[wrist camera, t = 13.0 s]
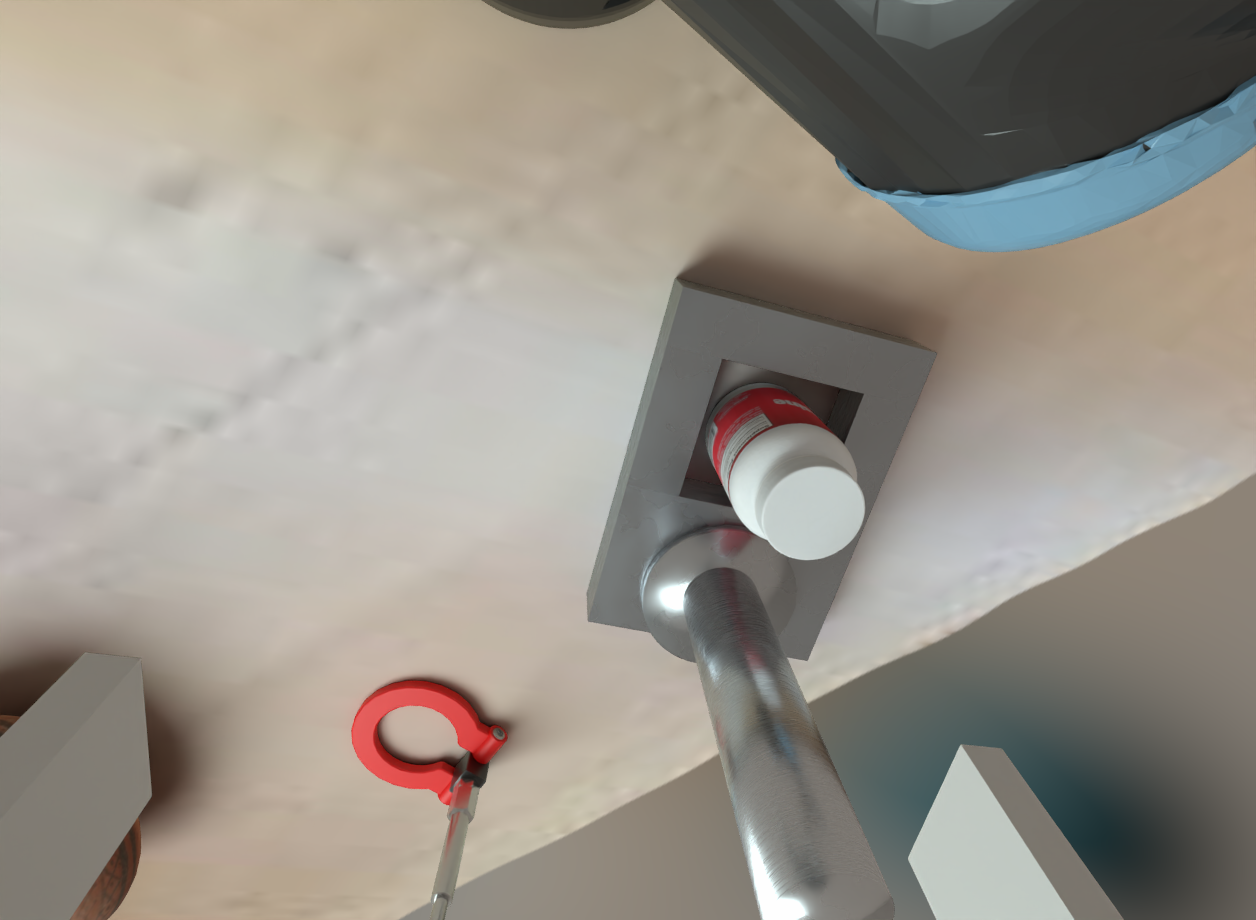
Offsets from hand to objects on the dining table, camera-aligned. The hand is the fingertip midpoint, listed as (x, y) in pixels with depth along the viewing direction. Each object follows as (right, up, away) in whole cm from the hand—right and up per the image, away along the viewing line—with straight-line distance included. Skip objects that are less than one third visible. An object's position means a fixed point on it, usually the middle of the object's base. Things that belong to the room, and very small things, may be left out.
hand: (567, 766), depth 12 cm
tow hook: (-13, -13, +37) cm, 41 cm away
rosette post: (+8, +4, +31) cm, 32 cm away
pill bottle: (+8, +7, +30) cm, 32 cm away
